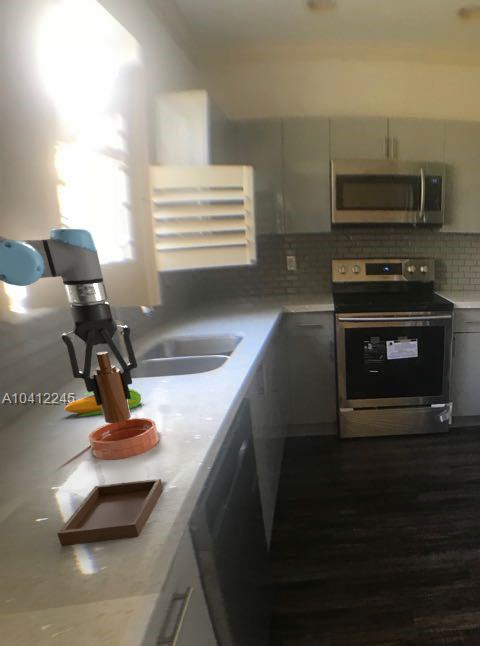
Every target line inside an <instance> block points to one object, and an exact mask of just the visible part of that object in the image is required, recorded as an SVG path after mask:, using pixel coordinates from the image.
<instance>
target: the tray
mask: <svg viewBox="0 0 480 646" xmlns="http://www.w3.org/2000/svg"><path fill="white" fill-rule="evenodd" d="M163 487H164V486H163V482H162V478H156V479H155V478H154V479H145V480H138V481H128V482H119V483H111V484H110V483H109V484H101V485H94V487H93V488H92V489H91V490H90V492H89V493H88V494H87V496H86V497H85V498H84V499H83V500H82V502H81V503H80V504H79V506H78V507H77V508H76V509H75V511H74V512H73V513H72V514H71V516H70V517H69V518H68V519H67V521H66V522H65V523H64V525H62V527H61V528H60V530H59V531H58V532H57V534H56V535H57V537H58V541H59V543H60V545H61V547H63V546H64V547H65V546H72V545H79V544H80V545H82V544H88V543H95V542H104V541H112V540H121V539H128V538H136V537H139V536H140V535H141V533H142V531H143V529H144V528H145V525H146V523H147V521H148V520H149V518H150V516H151V515H152V513H153V510H154V508H155V506H156V505H157V502H158V500H159V499H160V497H161V495H162V494H163V491H164V489H163Z"/></svg>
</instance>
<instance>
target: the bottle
mask: <svg viewBox="0 0 480 646" xmlns="http://www.w3.org/2000/svg"><path fill="white" fill-rule="evenodd" d="M95 357H96V360H97V363H98V367H95V371H93V372H92V376H93V377H94V380H95V384H96V387H97V391H98V395H99V399H100V403H101V408H102V412H103V414H102V415H103V419H104V422H105V424H109V423H118V422H123V421H125V420H128V419H132V413H131V410H130V409H131V408H130V409H129V405H128V401H127V397H126V393H125V389H124V384H123V380H122V376H121V372H120V371H121V369H120V368H118V367H116V365H114V364H112V363H111V359H110V356H109V351H99V352H96V353H95Z"/></svg>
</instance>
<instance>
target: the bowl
mask: <svg viewBox="0 0 480 646" xmlns="http://www.w3.org/2000/svg"><path fill="white" fill-rule="evenodd" d="M159 440H160V438H159V434H158V430H157V425H156V421H154V420H152V419H151V418H146V417H134V418H132V417H131V418H129V419H128V420H125V421H123V422H118V423H105V424H104V425H101V426H99V427H97V428H96V429H94V430H92V431H91V433H90V434H89V435H88V441H89V444H90V447H91V450H92V454H93V456H94V457H95V458H96V459H100V460H107V461H108V460H110V461H111V460H120V459H126V458H131V457H134V456H137V455H140V454H142V453H145V452H147V451H149V450H151V449H153V448H154V447H155V446H156V445H157V444H159Z"/></svg>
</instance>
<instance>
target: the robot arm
mask: <svg viewBox="0 0 480 646" xmlns="http://www.w3.org/2000/svg"><path fill="white" fill-rule="evenodd" d="M49 234H50V235H49V238H46V239H11V238H7V237H4V236H0V281H1V282H3V283H5V284H7V285H12V286H18V287H25V286H30V285H32V284H34V283H36V282H38V281H39V280H40V279H45V278H57V277H61V279H62V284H63V287H64V291H65V295H66V299H67V302H68V303H69V304H71V305H70V307H69V310H70V314H71V317H72V321H73V329H72V330H71V331H69V332H67V333H65V332H64V333H61V335H60V337H61V339H62V341H63V342H64V344H65V346H66V349H67V354H68V358H69V363H70V367H71V372H72V375H73V378H74V379H82V380H83V381H84V385H85V388H86V392H87V393H89V392H93V393H92V394H93V395H94V397H95V400H96V403H97V406H98V405H101V403H100V399H99V395H98V391H97V387H96V384H95V380H94V377H93V375H91V369H92V368H91V366H92V357H93V350H94V349H93V348H94V346H98V345H107V346H108V348H109V349H110V351H111V352H112V354H113V356H114V357H115V359H116V360H117V362H118V364H119V365H120V367H121V368H122V370H120V372H121V376H122V380H123V384H124V389H125V393H126V397H127V399H131V396H130V392H129V385H132V384H133V379H132V375H131V371H133V369H136V368H138V363H137V358H136V356H135V352H134V348H133V345H132V341H131V337H130V336H131V335H130V334H131V328H130V327H129V326H128V325H117V323H115V321H114V318H113V314H112V310H111V307H110V303H109V302H107V300H108V297H109V296H108V294H107V290H106V285H105V280H104V276H103V272H102V267H101V263H100V259H99V255H98V254H99V253H98V250H97V247H96V243H95V241H94V237H93V234H92V232H91V231H90V230H89V229H86V228H53V229H50V231H49ZM117 331H118V334H119V335H120V336H121V338H122V341H123V344H124V348H125V352H126V356H127V359H128V362H129V363H127V362H126V361H125V359H124V357H123V356H122V354H121V352H120V351H119V349H118V347H117V346H116V344H115V343H114V340H113V338H114V335H115V334H116V332H117ZM75 337H78V338H79V339H81V340H82V341H83V342H84V352H83V363H82V364H83V365H82V371H81V370H80V369H79V365H78V359H77V356H76V355H77V354H76V350H75V346H74V344H73V343H74V342H75V340H76V339H75Z"/></svg>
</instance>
